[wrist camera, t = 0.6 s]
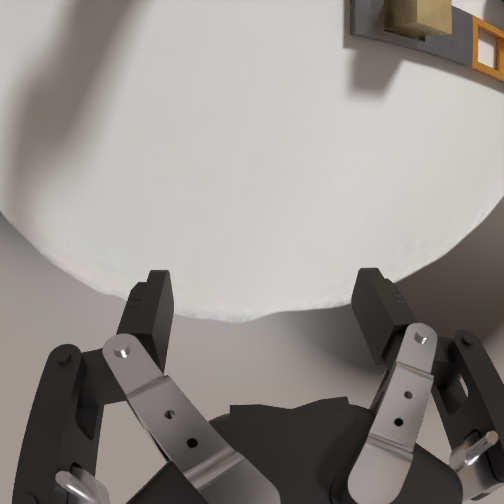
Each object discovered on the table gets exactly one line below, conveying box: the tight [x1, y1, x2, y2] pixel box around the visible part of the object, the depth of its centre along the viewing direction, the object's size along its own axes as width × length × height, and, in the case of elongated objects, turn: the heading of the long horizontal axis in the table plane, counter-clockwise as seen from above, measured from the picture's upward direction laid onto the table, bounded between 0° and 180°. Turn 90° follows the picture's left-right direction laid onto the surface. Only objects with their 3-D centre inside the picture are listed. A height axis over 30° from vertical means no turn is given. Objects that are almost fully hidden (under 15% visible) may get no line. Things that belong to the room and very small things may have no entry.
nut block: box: [384, 0, 452, 37], centre depth 23 cm, size 4×4×8 cm
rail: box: [350, 0, 504, 82], centre depth 27 cm, size 8×28×2 cm, turn 90°
